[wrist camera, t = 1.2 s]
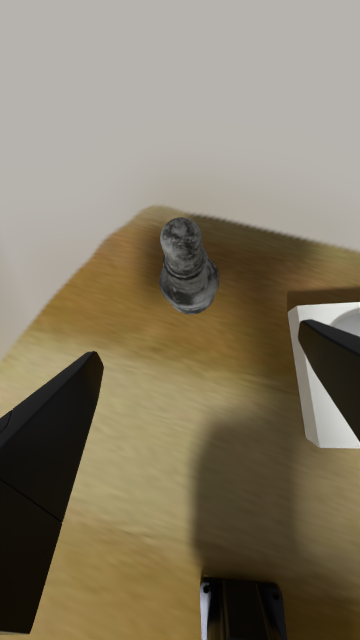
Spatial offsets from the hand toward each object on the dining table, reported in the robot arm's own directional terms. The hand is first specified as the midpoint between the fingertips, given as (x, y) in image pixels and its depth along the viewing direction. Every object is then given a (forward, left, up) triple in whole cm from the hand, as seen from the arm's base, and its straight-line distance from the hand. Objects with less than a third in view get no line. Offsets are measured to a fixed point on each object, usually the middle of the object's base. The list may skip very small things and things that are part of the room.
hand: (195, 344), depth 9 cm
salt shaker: (+7, +1, -13) cm, 15 cm away
